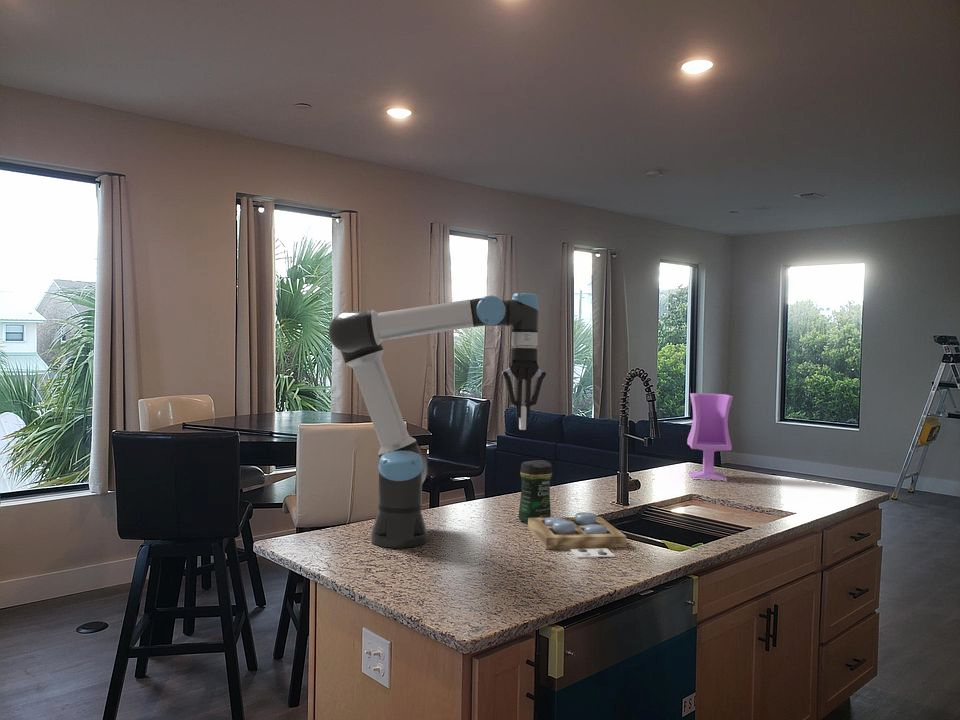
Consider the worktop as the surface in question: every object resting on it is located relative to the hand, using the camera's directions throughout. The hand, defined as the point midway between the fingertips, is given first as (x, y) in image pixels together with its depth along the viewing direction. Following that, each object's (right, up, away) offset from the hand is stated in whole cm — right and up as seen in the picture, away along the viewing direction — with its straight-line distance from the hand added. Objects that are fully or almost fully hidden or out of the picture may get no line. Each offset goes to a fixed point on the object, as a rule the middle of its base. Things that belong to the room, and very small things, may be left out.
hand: (522, 429), depth 206 cm
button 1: (+9, -28, -1) cm, 30 cm away
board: (+14, -30, -5) cm, 34 cm away
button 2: (+11, -27, -10) cm, 31 cm away
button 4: (+20, -29, -9) cm, 36 cm away
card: (+17, -30, -21) cm, 40 cm away
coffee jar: (+5, -30, +12) cm, 32 cm away
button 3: (+18, -27, 0) cm, 33 cm away
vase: (+84, -30, +94) cm, 130 cm away
